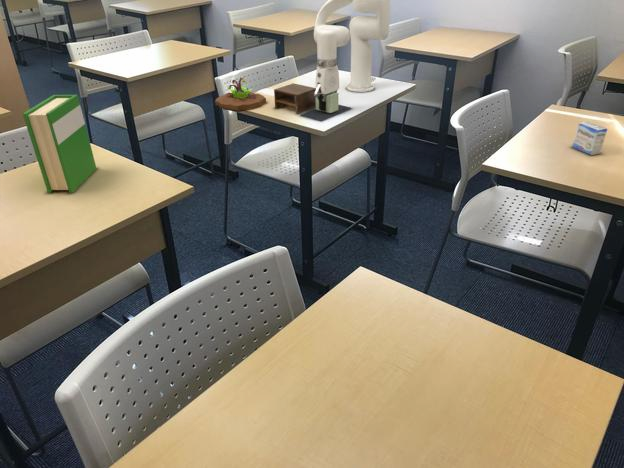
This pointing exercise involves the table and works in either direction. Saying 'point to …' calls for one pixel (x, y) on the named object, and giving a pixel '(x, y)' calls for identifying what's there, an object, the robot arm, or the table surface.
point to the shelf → (295, 97)
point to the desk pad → (324, 113)
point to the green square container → (329, 102)
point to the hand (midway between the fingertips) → (326, 108)
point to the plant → (240, 98)
